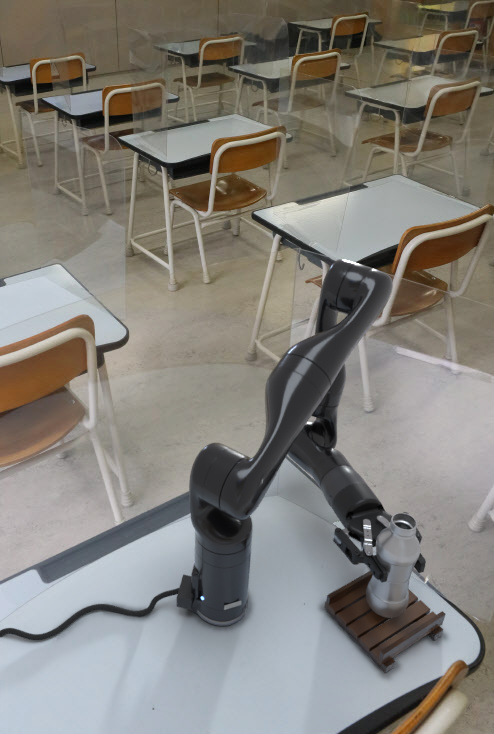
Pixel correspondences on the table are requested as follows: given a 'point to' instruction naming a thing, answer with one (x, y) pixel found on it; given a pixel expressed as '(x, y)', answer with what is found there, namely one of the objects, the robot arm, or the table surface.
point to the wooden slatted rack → (361, 621)
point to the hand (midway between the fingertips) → (404, 573)
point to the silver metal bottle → (394, 566)
